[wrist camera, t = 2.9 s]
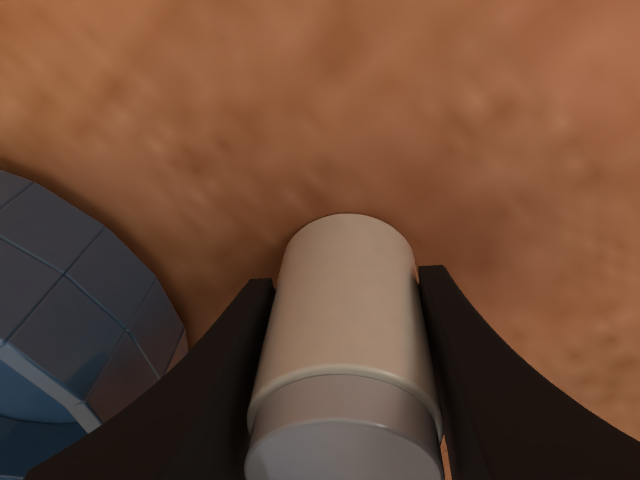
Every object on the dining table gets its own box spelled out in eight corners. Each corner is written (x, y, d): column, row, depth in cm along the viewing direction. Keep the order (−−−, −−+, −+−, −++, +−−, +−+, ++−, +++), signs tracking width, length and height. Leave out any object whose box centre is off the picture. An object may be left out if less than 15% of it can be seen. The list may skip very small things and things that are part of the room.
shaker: (379, 333, 15) (391, 552, 10) (265, 294, 15) (211, 504, 9) (440, 242, 13) (499, 457, 8) (310, 191, 12) (274, 386, 7)
